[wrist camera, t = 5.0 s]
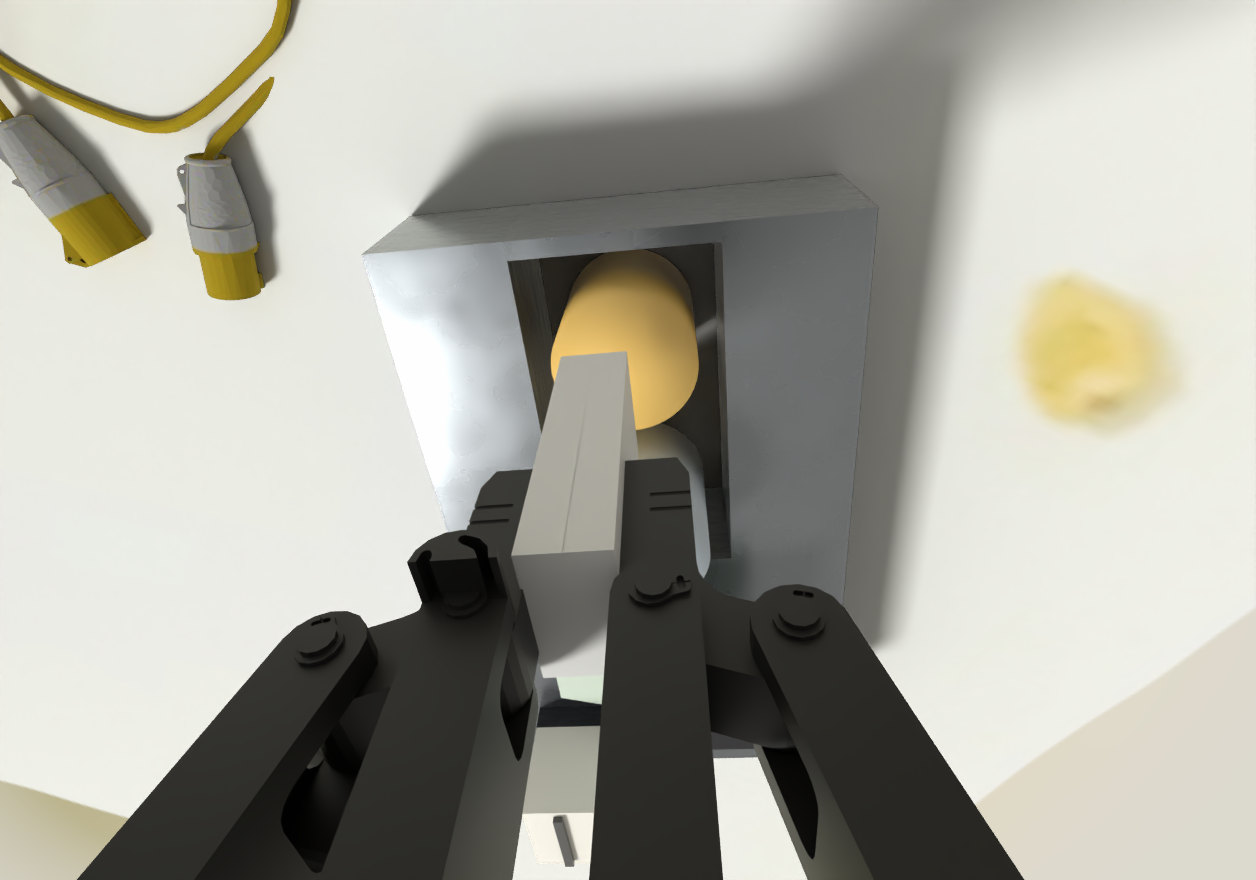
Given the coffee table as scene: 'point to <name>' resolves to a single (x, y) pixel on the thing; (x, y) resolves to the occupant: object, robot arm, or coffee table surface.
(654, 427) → the blue-grey button
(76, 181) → the extension cord
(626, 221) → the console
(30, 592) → the coffee table surface
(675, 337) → the amber button
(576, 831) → the fader knob
